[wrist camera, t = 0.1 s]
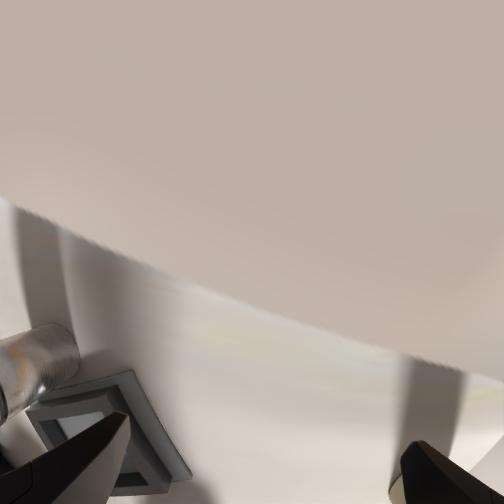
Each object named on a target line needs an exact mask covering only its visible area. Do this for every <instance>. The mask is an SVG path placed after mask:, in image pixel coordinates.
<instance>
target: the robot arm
mask: <svg viewBox="0 0 504 504" xmlns="http://www.w3.org/2000/svg"><path fill="white" fill-rule="evenodd" d="M130 433H131V431H130V421H129V416H128V415H127V414H125V413H122V412H119V411H114V412H112V413H111V414H109V415H108V416H106V417H104V418H103V419H101V420H100V421H98V422H96V423H95V424H93V425H91V426H90V427H88V428H87V429H85V430H83V431H82V432H80V433H78V434H77V435H75V436H73V437H72V438H70V439H68V440H67V441H65V442H63V443H62V444H60V445H58V446H56V447H55V448H53V449H51V450H50V451H48V452H46V453H44V454H43V455H41V456H39V457H37V458H35V459H34V460H32V462H28V463H26V464H24V465H23V466H21V467H19V468H17V469H15V470H13V471H10V472H8V473H6V474H3V475H1V476H0V504H106V503H107V500H108V498H109V496H110V494H111V491H112V489H113V487H114V485H115V483H116V480H117V478H118V475H119V472H120V468H121V465H122V462H123V458H124V455H125V452H126V449H127V445H128V442H129V439H130ZM400 465H401V472H402V480H403V488H404V496H405V501H406V504H504V496H502V495H501V494H499V493H497V492H496V491H494V490H493V489H491V488H489V487H488V486H487V485H485V484H484V483H482V482H481V481H480V480H478V479H477V478H475V477H474V476H472V475H471V474H469V473H468V472H466V471H465V470H464V469H462V468H461V467H459V466H458V465H456V464H455V463H454V462H452V461H451V460H449V459H448V458H447V457H445V456H444V455H442V454H441V453H440V452H438V451H437V450H436V449H434V448H433V447H431V446H430V445H429V444H427V443H426V442H425V441H422V440H420V441H413V442H412V443H411V444H410V445H409V446H408V448H407V449H406V451H405V452H404V453H403V455H402V456H401V459H400Z"/></svg>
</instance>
